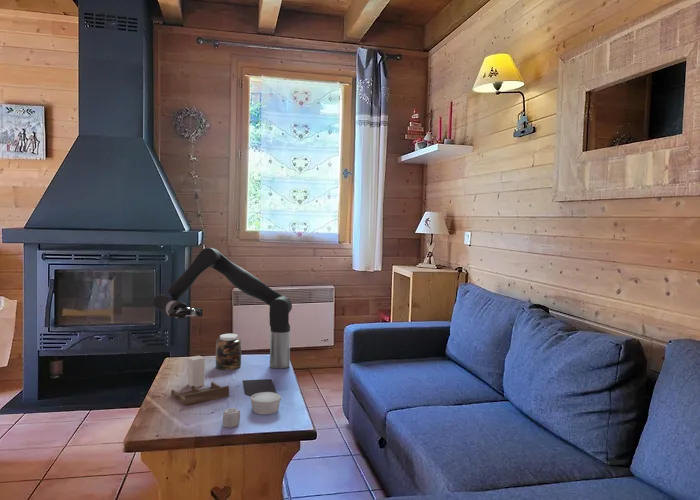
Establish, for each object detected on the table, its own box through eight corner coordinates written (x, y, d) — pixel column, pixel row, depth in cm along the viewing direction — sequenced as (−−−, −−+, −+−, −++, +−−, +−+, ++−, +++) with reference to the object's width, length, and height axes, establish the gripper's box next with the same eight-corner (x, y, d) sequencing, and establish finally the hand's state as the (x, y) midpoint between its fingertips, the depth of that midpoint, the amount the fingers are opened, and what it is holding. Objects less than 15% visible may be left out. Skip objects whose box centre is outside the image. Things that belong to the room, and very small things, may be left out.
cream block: (187, 385, 214) (188, 357, 213) (199, 383, 217) (199, 355, 217) (192, 388, 210) (193, 360, 210) (204, 386, 214) (204, 358, 213)
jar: (215, 363, 248) (216, 333, 247) (240, 362, 250) (241, 332, 249) (215, 371, 236) (215, 338, 235) (241, 369, 239) (241, 338, 238)
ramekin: (251, 405, 197) (252, 391, 196) (281, 404, 198) (281, 391, 197) (248, 416, 185) (248, 402, 185) (279, 416, 186) (280, 402, 186)
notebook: (242, 383, 222) (244, 401, 201) (242, 380, 221) (244, 397, 201) (271, 382, 225) (277, 399, 204) (271, 378, 225) (277, 395, 204)
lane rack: (171, 397, 201) (171, 385, 201) (212, 388, 212) (212, 377, 212) (186, 408, 191) (186, 395, 190) (228, 398, 202) (228, 386, 202)
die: (222, 427, 175) (222, 413, 175) (225, 421, 180) (225, 407, 180) (236, 428, 175) (237, 413, 175) (239, 422, 180) (240, 408, 180)
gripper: (161, 302, 230) (175, 308, 217) (192, 300, 239) (207, 305, 227) (161, 319, 230) (175, 326, 218) (191, 315, 239) (207, 322, 227)
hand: (191, 315), depth 222 cm, fingers open, 8 cm apart
